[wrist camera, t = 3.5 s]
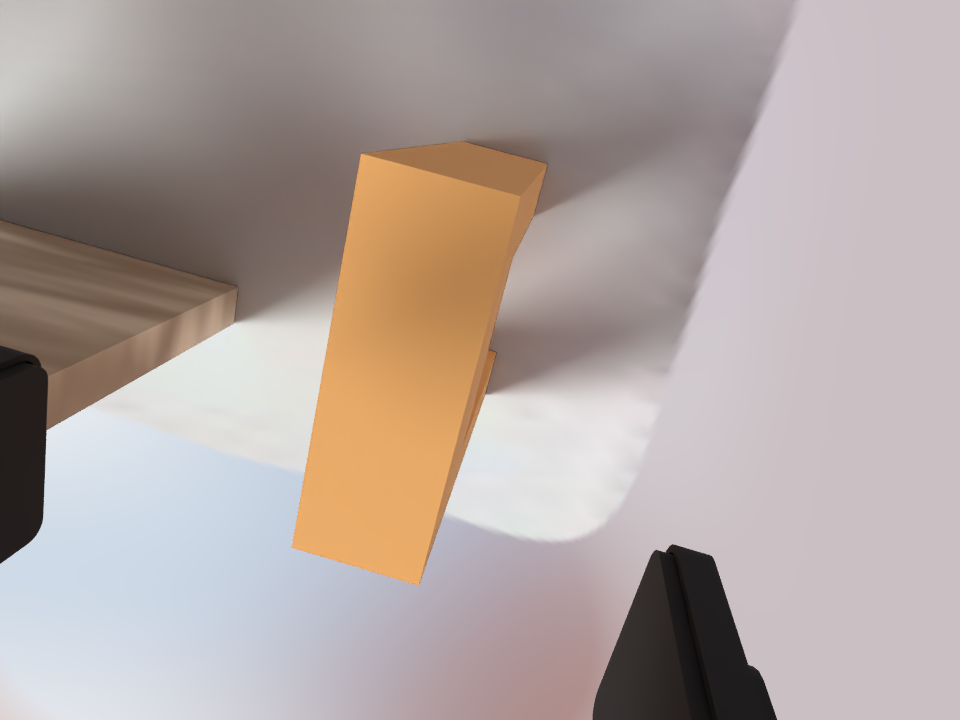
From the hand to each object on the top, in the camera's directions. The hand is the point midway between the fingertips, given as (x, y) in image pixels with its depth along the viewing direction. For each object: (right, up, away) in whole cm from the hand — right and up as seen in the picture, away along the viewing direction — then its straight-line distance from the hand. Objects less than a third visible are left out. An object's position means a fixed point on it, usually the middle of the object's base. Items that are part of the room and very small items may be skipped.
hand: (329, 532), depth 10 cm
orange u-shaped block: (+2, +6, +14) cm, 16 cm away
